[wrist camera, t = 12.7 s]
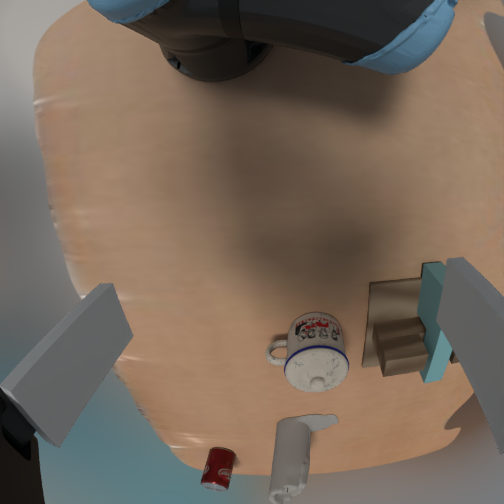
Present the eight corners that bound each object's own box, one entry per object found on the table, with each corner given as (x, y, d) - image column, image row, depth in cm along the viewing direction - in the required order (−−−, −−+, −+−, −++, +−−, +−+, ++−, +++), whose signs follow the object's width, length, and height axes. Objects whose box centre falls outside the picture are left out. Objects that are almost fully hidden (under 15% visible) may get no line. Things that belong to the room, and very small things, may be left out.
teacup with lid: (345, 309, 43) (357, 361, 32) (338, 353, 46) (345, 405, 35) (268, 308, 44) (260, 360, 34) (268, 352, 48) (261, 404, 37)
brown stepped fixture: (369, 282, 40) (386, 321, 31) (476, 270, 37) (506, 300, 28) (361, 364, 46) (369, 406, 37) (455, 348, 43) (474, 383, 34)
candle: (340, 425, 54) (343, 501, 36) (282, 434, 58) (274, 507, 40) (335, 409, 52) (339, 492, 34) (273, 419, 56) (262, 498, 37)
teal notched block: (423, 263, 37) (449, 294, 29) (441, 262, 36) (468, 291, 28) (409, 346, 43) (424, 383, 35) (425, 344, 42) (441, 379, 34)
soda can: (233, 447, 63) (224, 484, 52) (237, 458, 66) (230, 493, 55) (207, 445, 65) (196, 480, 54) (213, 456, 67) (204, 489, 56)
